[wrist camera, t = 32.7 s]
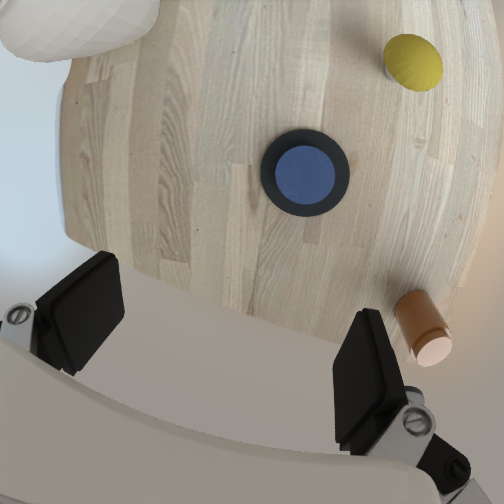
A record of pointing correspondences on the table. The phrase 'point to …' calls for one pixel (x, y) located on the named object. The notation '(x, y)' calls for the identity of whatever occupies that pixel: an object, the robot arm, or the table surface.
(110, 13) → the vase
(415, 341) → the jar
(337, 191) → the coaster
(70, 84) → the table surface
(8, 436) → the robot arm
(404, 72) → the light bulb
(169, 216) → the table surface
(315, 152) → the lid
